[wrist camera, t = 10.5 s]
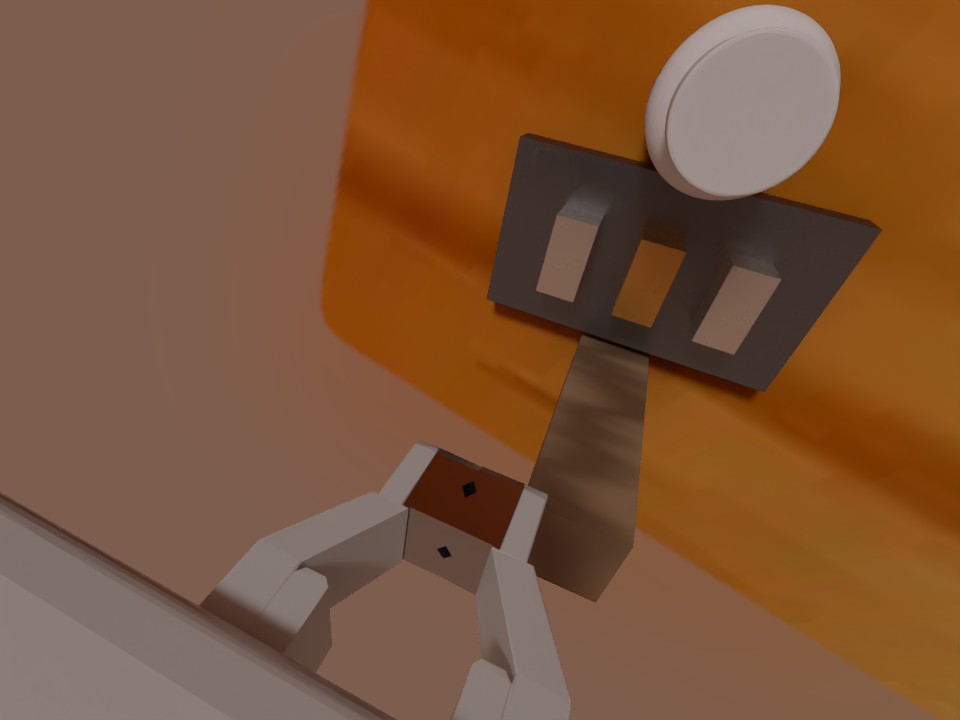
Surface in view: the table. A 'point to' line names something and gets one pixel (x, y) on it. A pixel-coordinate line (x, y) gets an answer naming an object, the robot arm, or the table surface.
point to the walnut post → (591, 468)
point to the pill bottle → (743, 103)
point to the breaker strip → (709, 234)
